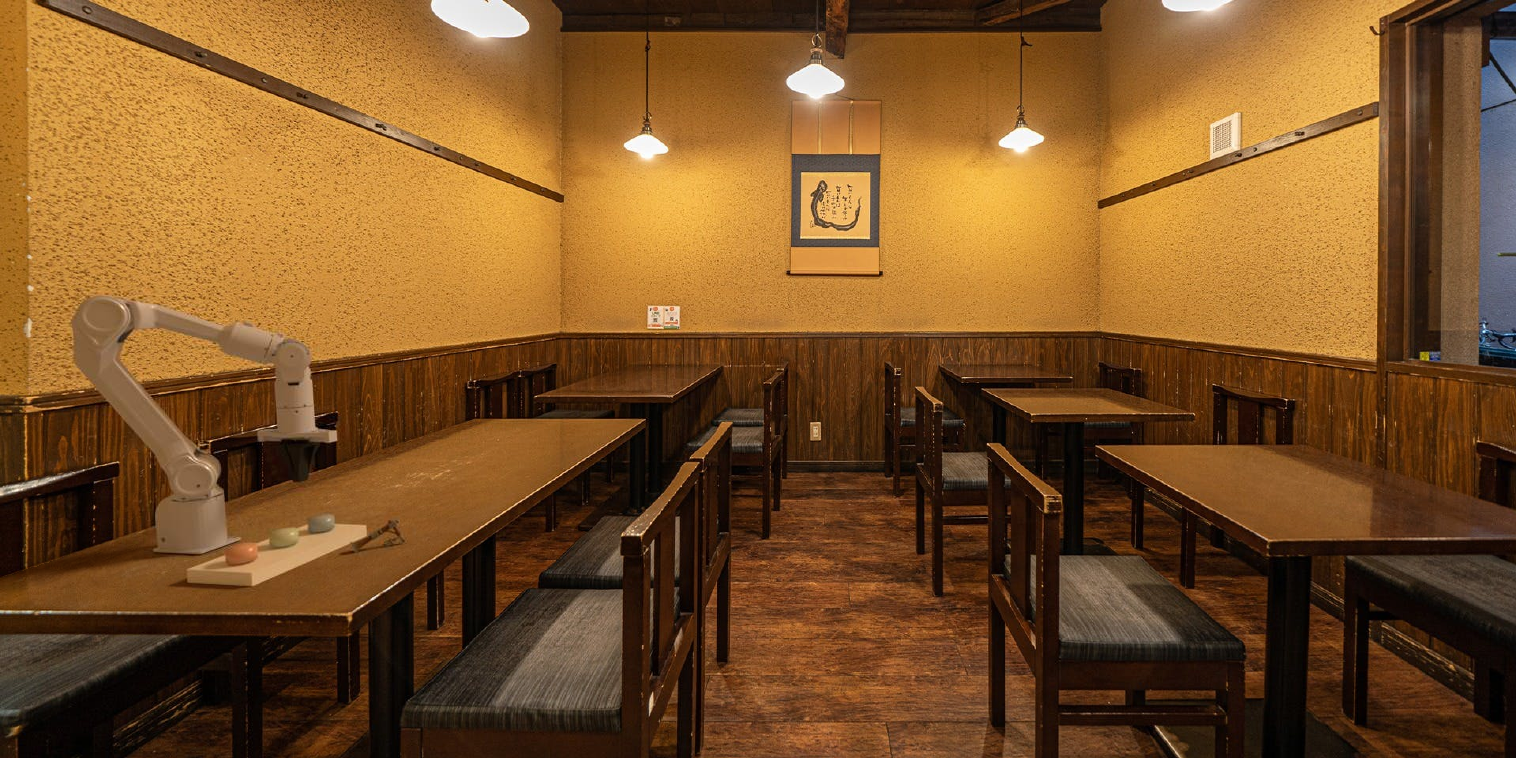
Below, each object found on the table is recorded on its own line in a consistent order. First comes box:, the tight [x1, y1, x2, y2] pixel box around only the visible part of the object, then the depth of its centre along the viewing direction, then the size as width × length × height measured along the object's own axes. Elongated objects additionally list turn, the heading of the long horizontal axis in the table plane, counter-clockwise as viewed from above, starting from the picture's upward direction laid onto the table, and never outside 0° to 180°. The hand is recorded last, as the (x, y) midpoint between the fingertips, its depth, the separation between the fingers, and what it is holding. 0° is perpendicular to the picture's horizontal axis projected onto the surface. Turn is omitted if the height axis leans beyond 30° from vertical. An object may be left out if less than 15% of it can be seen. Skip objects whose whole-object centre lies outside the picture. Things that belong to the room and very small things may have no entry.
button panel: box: [186, 523, 368, 587], centre depth 118 cm, size 11×24×2 cm, turn 170°
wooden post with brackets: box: [349, 518, 406, 554], centre depth 123 cm, size 2×8×4 cm, turn 124°
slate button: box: [306, 513, 336, 532], centre depth 126 cm, size 4×4×2 cm
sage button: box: [268, 527, 299, 547], centre depth 118 cm, size 4×4×2 cm
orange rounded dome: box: [224, 542, 258, 564], centre depth 110 cm, size 4×4×2 cm
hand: (300, 480), depth 132 cm, fingers closed
